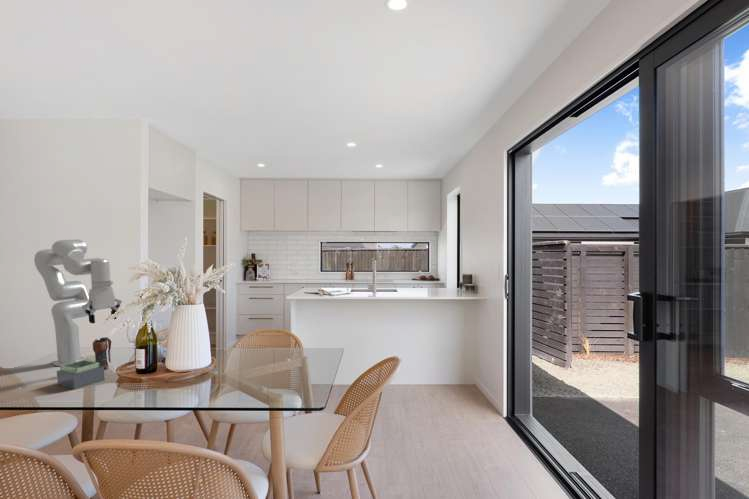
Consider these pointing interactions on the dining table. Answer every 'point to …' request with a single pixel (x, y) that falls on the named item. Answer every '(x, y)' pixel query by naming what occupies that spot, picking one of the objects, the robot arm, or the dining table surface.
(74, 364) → the stand
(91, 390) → the dining table surface
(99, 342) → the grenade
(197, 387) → the dining table surface
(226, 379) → the dining table surface
